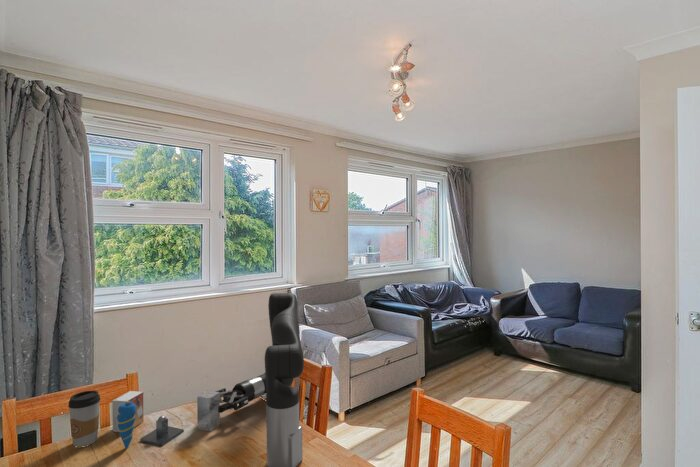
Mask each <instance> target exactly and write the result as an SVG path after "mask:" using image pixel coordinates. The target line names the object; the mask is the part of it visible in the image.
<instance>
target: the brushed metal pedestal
mask: <svg viewBox="0 0 700 467" xmlns="http://www.w3.org/2000/svg"><path fill="white" fill-rule="evenodd" d="M196 399H197V400H196V407H197V409H196V411H197V412H196V413H197V415H196V416H197V430H200V431H206V432H211V431H213V430H214V429H215V428H217V427H219V426H220V425H221V413H219V412H218V407H219V406H220V405H221V403H220V396H219V392H215V391H213V390H206V391H204V392H202V393H201V394H198V395H197V396H196Z"/></svg>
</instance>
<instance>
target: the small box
mask: <svg viewBox="0 0 700 467" xmlns="http://www.w3.org/2000/svg"><path fill="white" fill-rule="evenodd" d="M126 401H129V402H132V403H134V404H135V405H136V413H135V421H134V428H136V427H137V426H139V425H141V424H143V422H144V420H145V419H144V417H145V416H144V392H143V391H135V390H134V391H133V390H129V391H127V392H126V393H124V394H122V395H120V396H118V397H117V398H114V399H113V400H111V403H112V404H111V405H112V407H111V408H112V413H111V414H112V432H113V433H115V432H116V433H120V429H119V427H118V424H119V422H118V420H117V416H118V414H119V412H118V408H119V406H120V405H122V404H124V403H126Z"/></svg>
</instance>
